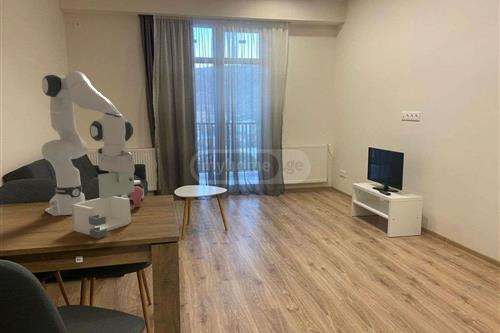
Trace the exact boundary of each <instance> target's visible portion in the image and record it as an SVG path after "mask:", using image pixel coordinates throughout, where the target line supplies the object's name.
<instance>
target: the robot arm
mask: <svg viewBox="0 0 500 333" xmlns="http://www.w3.org/2000/svg"><path fill="white" fill-rule="evenodd" d="M41 88H42V91H43V93H44V94H45V95H46V96H47V97H50V98H49V112H50V113H49V114H50V122H51V123H50V125H51V127H52V129H53V130H54V131H56V132H57V134H58V135H59V138H60V139H52V140H50V141H47V142H45V143H44V144H43V145H42V147H41V154H42V157H43V159H45V160H46V161H48V162H49V163H50V164H51V166H52V168H53V170H54V172H55V179H56V185H57V186H56V187H55V194H54V196H52V198H51V199H50V200H49V202H48V205H49V207H47V208H45V212H46V213H48V214H50V215H51V216H53V217H56V216H68V215H71V216H72V206H71V204H75V203H80V202H84V201H86V198H85V194H84V193H83V192H82V191H83V186H82V184H81V176H80V175H81V174H80V170H79V169H78V168H77V167H75V166H74V164H73V162H72V160H73V159H74V160H75V159H79V158H82V157H84V156H85V155H86V154H87V152H88V144H87V142H86V141H85V140H84V139H83V138H82V137H81V136H80V134H79V132H78V129H77V124H76V113H75V112H76V111H75V106H74V104H75V105H76V106H77V107H79V108H82V109H85V110H91V111H94V112H99V113H101V114H103V116H102V117H101V118H98V119H97V120H94V121H93V122H92V123H91V124H90V126H89V134H90V137H91V138H92V139H93V140H94V142H100V143H101V142H103V146H102V147H100V148H97V150H96V152H97V154H98V155H97V164H98V169H99V170H100V171H106V172H108V173H111V172H116V173H118V175H119V177H118V179H117V182H118V183H122V182H123V177H124V174H133V173H134V174H135V171H136V168H135V163H134V162H135V161H134V158H133V155H132V154H131V152H130V151H127V142H128V141H129V140H130V139H131V138H132V137H133V134H134V127H133V125H132V123H131V122H130V120H128V119H127V118H126V117H124V115H123V114H122V113H121V112H120V111H119V109H117V107H116V106H115V104H113V103H112V102H111V100H109V98H107V97H105V96H104V95H102V93H100V92H99V91H97V89H96V88H95V87H94V86H93V84H92V83H91V81H90V79H88V78H87V76H86V75H85V74H84V73H83V72H81V71H79V70H71V71H69V72H67V73H66V74H62V75H61V74H57V75H56V74H47V75H45V76H44V77H43V78H42V80H41Z"/></svg>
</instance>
